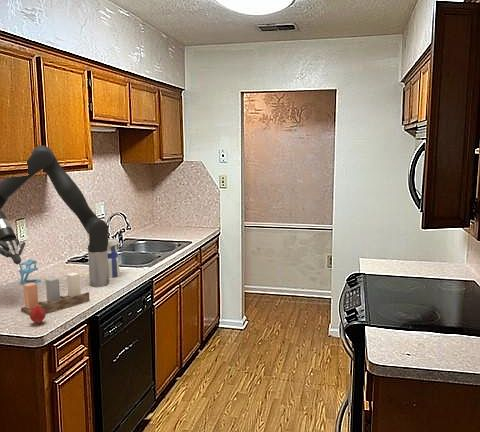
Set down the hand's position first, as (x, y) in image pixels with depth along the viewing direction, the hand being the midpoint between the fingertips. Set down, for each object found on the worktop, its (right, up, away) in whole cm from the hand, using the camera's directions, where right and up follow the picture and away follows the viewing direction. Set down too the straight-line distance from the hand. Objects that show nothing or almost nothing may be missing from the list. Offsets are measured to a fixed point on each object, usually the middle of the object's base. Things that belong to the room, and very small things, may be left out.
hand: (18, 263), depth 212 cm
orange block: (+7, -18, -3) cm, 20 cm away
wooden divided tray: (+15, -19, +4) cm, 24 cm away
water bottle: (+27, -12, +50) cm, 58 cm away
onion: (+15, -23, -16) cm, 32 cm away
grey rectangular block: (+13, -17, +5) cm, 22 cm away
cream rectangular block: (+20, -16, +12) cm, 28 cm away
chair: (-11, -14, +38) cm, 42 cm away
